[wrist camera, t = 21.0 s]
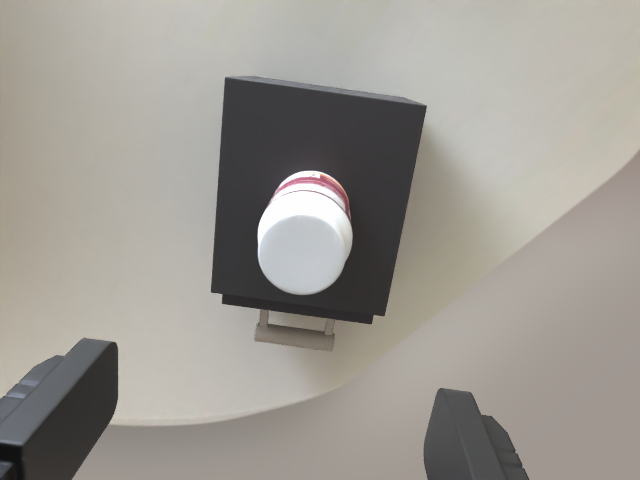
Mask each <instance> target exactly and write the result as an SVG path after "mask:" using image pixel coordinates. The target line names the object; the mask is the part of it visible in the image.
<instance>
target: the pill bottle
mask: <svg viewBox="0 0 640 480" xmlns="http://www.w3.org/2000/svg"><path fill="white" fill-rule="evenodd" d="M352 242H353V233H352V226H351V217H350V209H349V201H348V198H347V195H346V193H345V191H344V189H343V188H342V186H341V185H340V184H339V183H338V182H337V181H336V180H335V179H333V178H332V177H330V176H329V175H327V174H324V173H322V172H317V171H303V172H299V173H296V174H293V175H292V176H290V177H288V178H287V179H286V180H284V181H283V182H282V183H281V184H280V186H279V187H278V189H277V190H276V192H275V194H274V196H273V197H272V199H271V201H270V203H269V204H268V206H267V208H266V210H265V212H264V214H263V216H262V218H261V220H260V223H259V227H258V260H259V264H260V267H261V269H262V271H263V273H264V275H265V276H266V277H267V279H268V280H269V281H270V282H271V283H272V284H273V285H275V286H276V287H278V288H279V289H281V290H283V291H285V292H288V293H291V294H297V295H309V294H314V293H317V292H320V291H322V290H324V289H326V288H328V287H329V286H330V285H331V284H333V283H334V282H335V281H336V279H337V278H338V277H339V275H340V274H341V272H342V270H343V267H344V264H345V261H346V260H347V258H348V256H349V253H350V251H351V247H352Z"/></svg>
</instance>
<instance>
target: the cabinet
mask: <svg viewBox="0 0 640 480" xmlns="http://www.w3.org/2000/svg"><path fill="white" fill-rule="evenodd" d="M426 108H427V106H426V105H423V104H421V103H418V102H415V101H412V100H409V99H406V98H402V97H395V96H388V95H381V94H374V93H367V92H360V91H353V90H346V89H339V88H332V87H325V86H318V85H311V84H304V83H297V82H290V81H283V80H275V79H268V78H261V77H225V85H224V101H223V116H222V131H221V146H220V162H219V177H218V192H217V207H216V223H215V238H214V253H213V268H212V284H211V292H212V293H219V294H226V295H233V296H240V297H248V298H255V299H262V300H269V301H277V302H284V303H291V304H298V305H306V306H313V307H320V308H327V309H335V310H342V311H349V312H356V313H363V314H371V315H378V316H385V313H386V308H387V303H388V298H389V293H390V288H391V283H392V278H393V273H394V268H395V263H396V258H397V253H398V248H399V243H400V238H401V233H402V228H403V223H404V218H405V213H406V208H407V203H408V198H409V193H410V188H411V183H412V178H413V173H414V168H415V163H416V158H417V153H418V148H419V143H420V138H421V133H422V128H423V123H424V118H425V113H426ZM303 171H317V172H322V173H324V174H327V175H329V176H330V177H332V178H333V179H335V180H336V181H337V182H338V183H339V184H340V185H341V186H342V188H343V189H344V191H345V193H346V195H347V198H348V201H349V209H350V217H351V226H352V233H353V242H352V247H351V251H350V253H349V256H348V258H347V260H346V261H345V264H344V267H343V270H342V272H341V274H340V275H339V277H338V278H337V279H336V281H335V282H334V283H333V284H331V285H330V286H329V287H328V288H326V289H324V290H322V291H320V292H317V293H314V294H309V295H297V294H291V293H288V292H285V291H283V290H281V289H279V288H278V287H276V286H275V285H273V284H272V283H271V282H270V281H269V280H268V279H267V277H266V276H265V275H264V273H263V271H262V269H261V267H260V264H259V260H258V227H259V223H260V220H261V218H262V216H263V214H264V212H265V210H266V208H267V206H268V204H269V203H270V201H271V199H272V197H273V196H274V194H275V192H276V190H277V189H278V187H279V186H280V184H281V183H282V182H283V181H284V180H286V179H287V178H288V177H290V176H292V175H293V174H296V173H299V172H303Z"/></svg>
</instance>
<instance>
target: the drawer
mask: <svg viewBox="0 0 640 480" xmlns="http://www.w3.org/2000/svg"><path fill="white" fill-rule="evenodd" d="M222 304H227V305H235V306H242V307H249V308H256V309H261V310H260V319H259V323H257V325H256V330H255V337H254V339H255V341H260V342H267V343H274V344H281V345H289V346H296V347H303V348H311V349H318V350H325V351H332V350H333V345H334V337H335V334H334V333H333V327H334V321H335V319H336V320H343V321H350V322H358V323H365V324H372V321H373V316H374V315H371V314H363V313H356V312H349V311H342V310H335V309H327V308H320V307H313V306H306V305H298V304H291V303H284V302H277V301H269V300H262V299H255V298H248V297H240V296H233V295H226V294H223V295H222ZM269 310H271V311H278V312H285V313H293V314H300V315H307V316H314V317H321V318H326V325H325V332H324V331H316V330H309V329H302V328H295V327H287V326H280V325H273V324H267V323H268V315H269Z"/></svg>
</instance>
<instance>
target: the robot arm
mask: <svg viewBox="0 0 640 480" xmlns="http://www.w3.org/2000/svg"><path fill="white" fill-rule="evenodd" d="M117 400H118V347H117V344H116V343H115V342H111V341H103V340H96V339H89V338H83V339H81V340H80V341H79V342H78V343H77V344H76V345H75V346H74V347H73V348H72V349H71V350H70V351H69V352H68V353H67V354H66V355H65V356H58V355H56V356H54V357H52V358H50V359H48V360H46V361H44V362H42V363H40V364H38V365H36V366H35V367H34V368H33V369H31V370H30V371H29V372H28V373H27V374H26V375H25V376H24V377H23V378H22V379H21V380H20V382H19V384H16V385H15V386H14V387H13V388H12V389H11V390H10V391H9V392H7V395H6V396H3V397H2V398H1V399H0V480H72V478H73V477H74V475H75V473H76V472H77V471H78V469H79V468H80V466H81V465H82V463H83V461H84V460H85V458H86V457H87V455H88V454H89V452H90V451H91V449H92V448H93V446H94V445H95V443H96V442H97V440H98V439H99V437H100V436H101V434H102V433H103V431H104V430H105V428H106V427H107V425H108V424H109V422H110V420H111V419H112V417H113V414H114V412H115V409H116V405H117ZM424 464H425V469H426V474H427V478H428V480H529V478H528V476H527V473H526V472H525V469H524V468H522V463H521V461H520V459H519V457H518V454H516V453H515V448H514V446H513V444H512V442H511V440H510V438H509V435H508V433H507V432H506V431H505V430H504V429H503V428H502V427H501V426H500V425H499V423H498V422H497V421H496V420H495V419H494V418H493V417H492V416H486V415H481V413H480V411H479V409H478V406H477V404H476V401H475V399H474V397H473V395H472V393H471V392H466V391H459V390H452V389H444V388H440V389H439V390H438V392H437V394H436V397H435V402H434V406H433V409H432V413H431V417H430V421H429V425H428V429H427V433H426V437H425V442H424Z"/></svg>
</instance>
